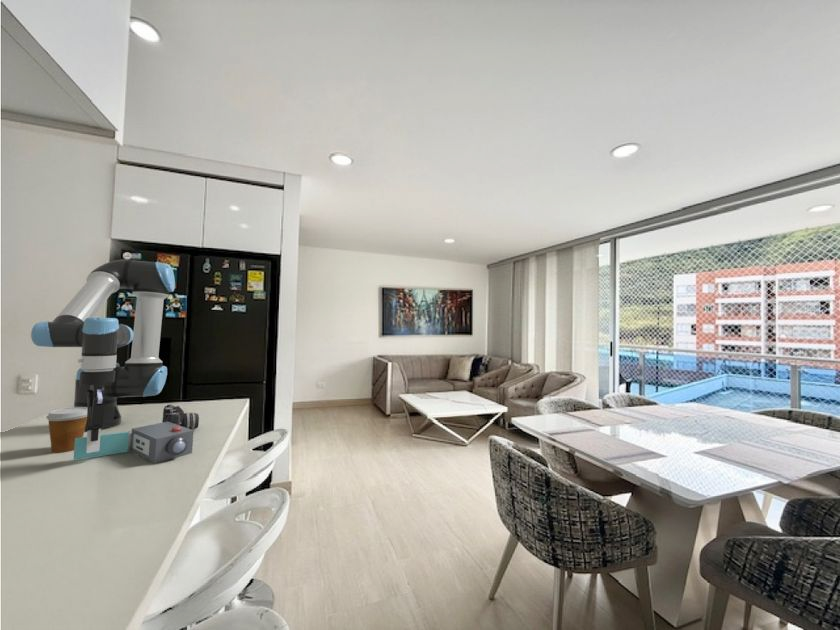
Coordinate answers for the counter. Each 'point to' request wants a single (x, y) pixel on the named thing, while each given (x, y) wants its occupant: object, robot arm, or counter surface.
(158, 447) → the grey boxy piece
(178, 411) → the camera
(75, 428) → the disposable coffee cup
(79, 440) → the door
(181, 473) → the counter surface
